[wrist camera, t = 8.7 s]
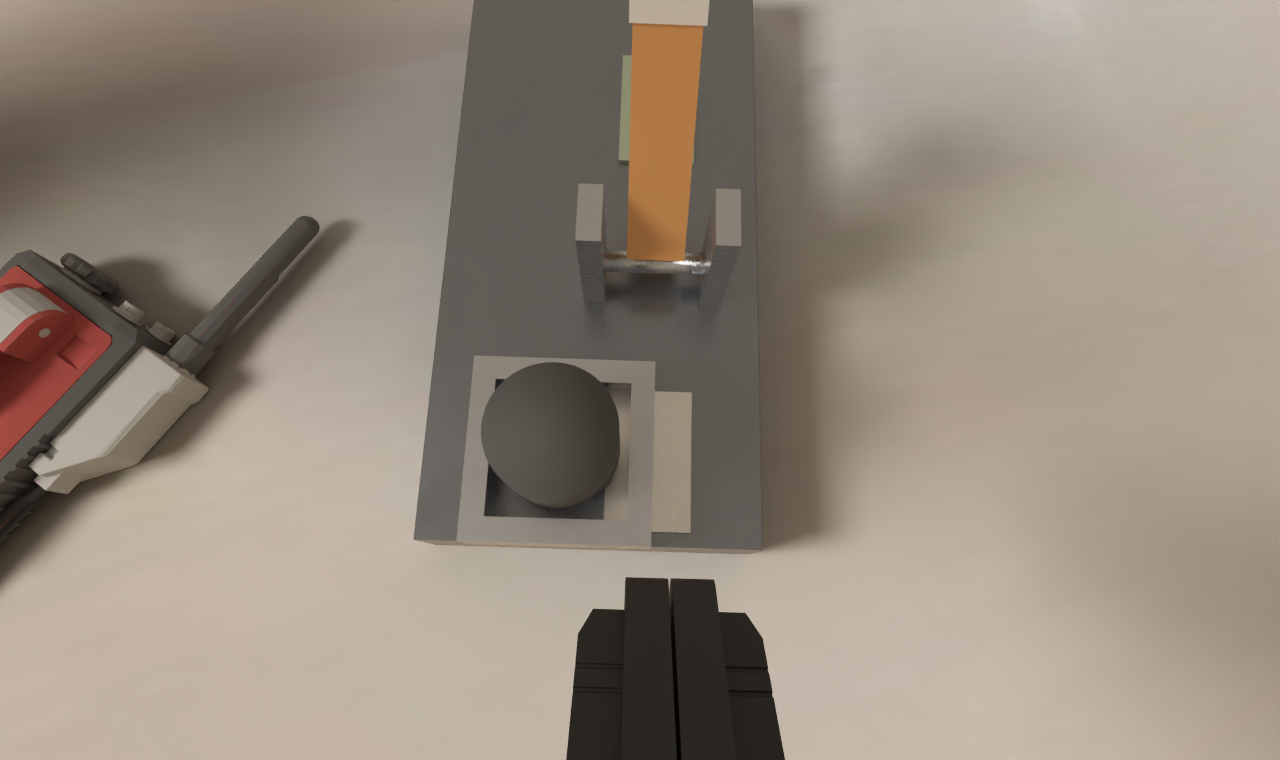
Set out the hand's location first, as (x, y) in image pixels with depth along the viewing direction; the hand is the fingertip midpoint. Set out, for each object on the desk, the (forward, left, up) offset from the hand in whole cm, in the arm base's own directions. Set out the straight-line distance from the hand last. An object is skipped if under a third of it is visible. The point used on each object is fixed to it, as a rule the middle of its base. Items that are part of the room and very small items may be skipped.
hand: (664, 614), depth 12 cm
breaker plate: (-2, +14, -16) cm, 21 cm away
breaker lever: (0, +12, -11) cm, 16 cm away
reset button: (-3, +5, -11) cm, 12 cm away
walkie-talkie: (-22, +8, -16) cm, 29 cm away
